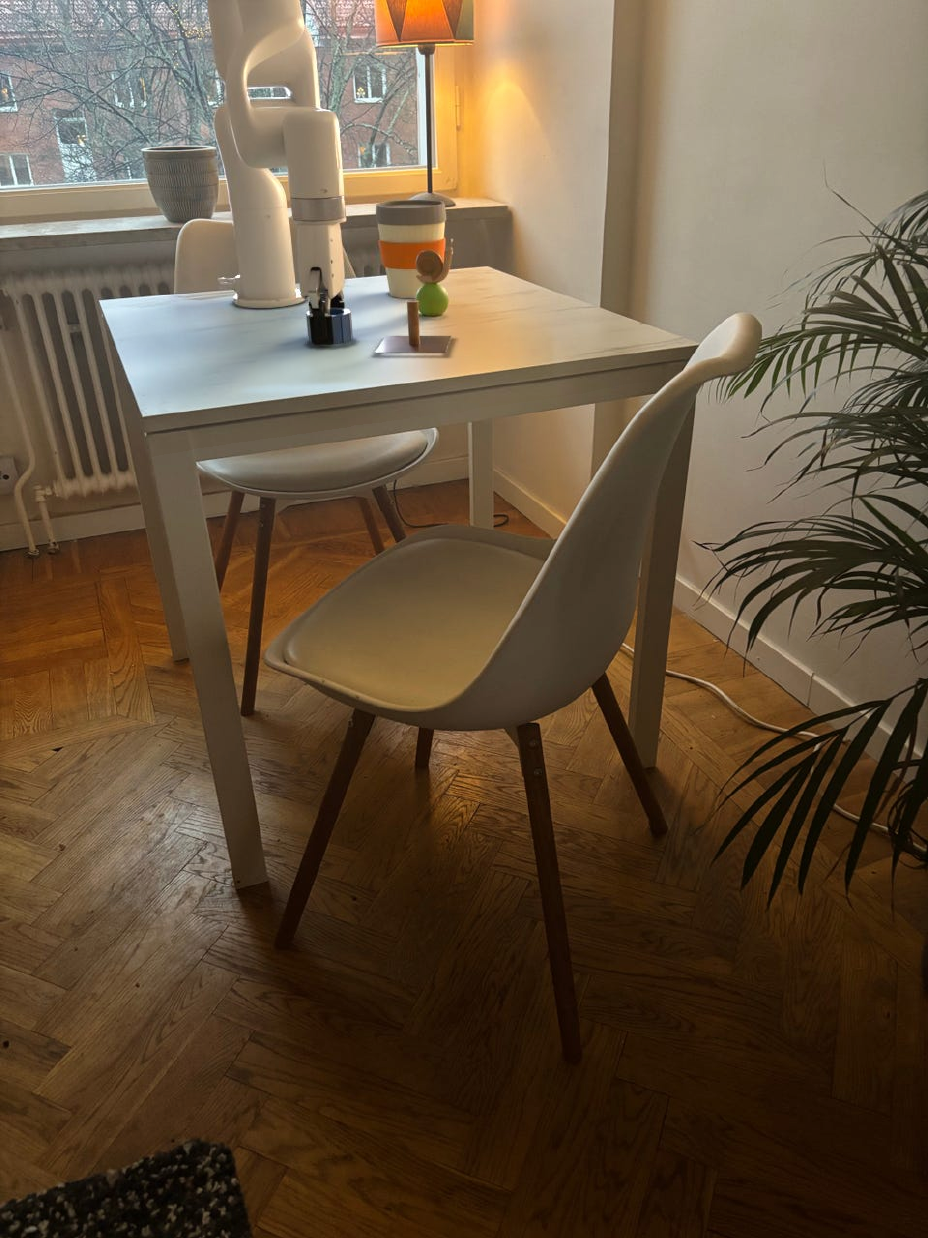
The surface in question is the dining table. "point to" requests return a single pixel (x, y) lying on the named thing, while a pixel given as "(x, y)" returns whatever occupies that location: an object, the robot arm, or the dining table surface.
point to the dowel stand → (414, 337)
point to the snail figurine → (433, 281)
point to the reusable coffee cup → (408, 240)
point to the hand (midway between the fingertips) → (329, 336)
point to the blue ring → (337, 325)
